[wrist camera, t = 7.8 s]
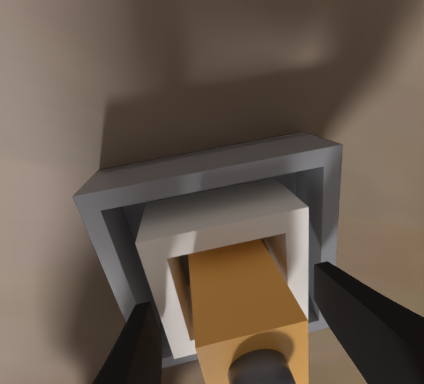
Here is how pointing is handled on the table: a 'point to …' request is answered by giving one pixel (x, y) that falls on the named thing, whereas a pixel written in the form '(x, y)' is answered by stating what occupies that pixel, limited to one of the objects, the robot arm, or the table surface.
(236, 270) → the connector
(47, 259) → the table surface
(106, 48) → the table surface
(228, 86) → the table surface
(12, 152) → the table surface
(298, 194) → the walled box
